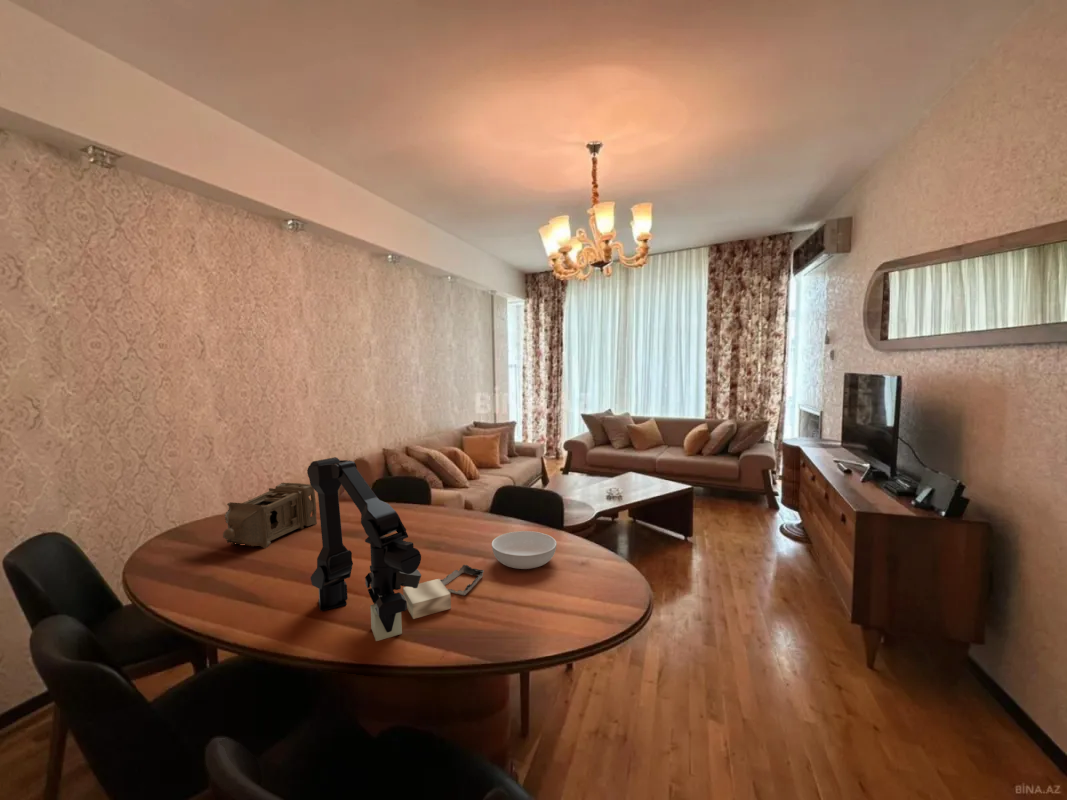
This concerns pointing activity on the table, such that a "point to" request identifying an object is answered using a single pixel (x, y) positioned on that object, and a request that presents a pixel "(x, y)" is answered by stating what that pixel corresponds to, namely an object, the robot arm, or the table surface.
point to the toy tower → (271, 515)
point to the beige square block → (427, 598)
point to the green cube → (379, 628)
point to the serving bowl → (524, 549)
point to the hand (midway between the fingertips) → (386, 625)
